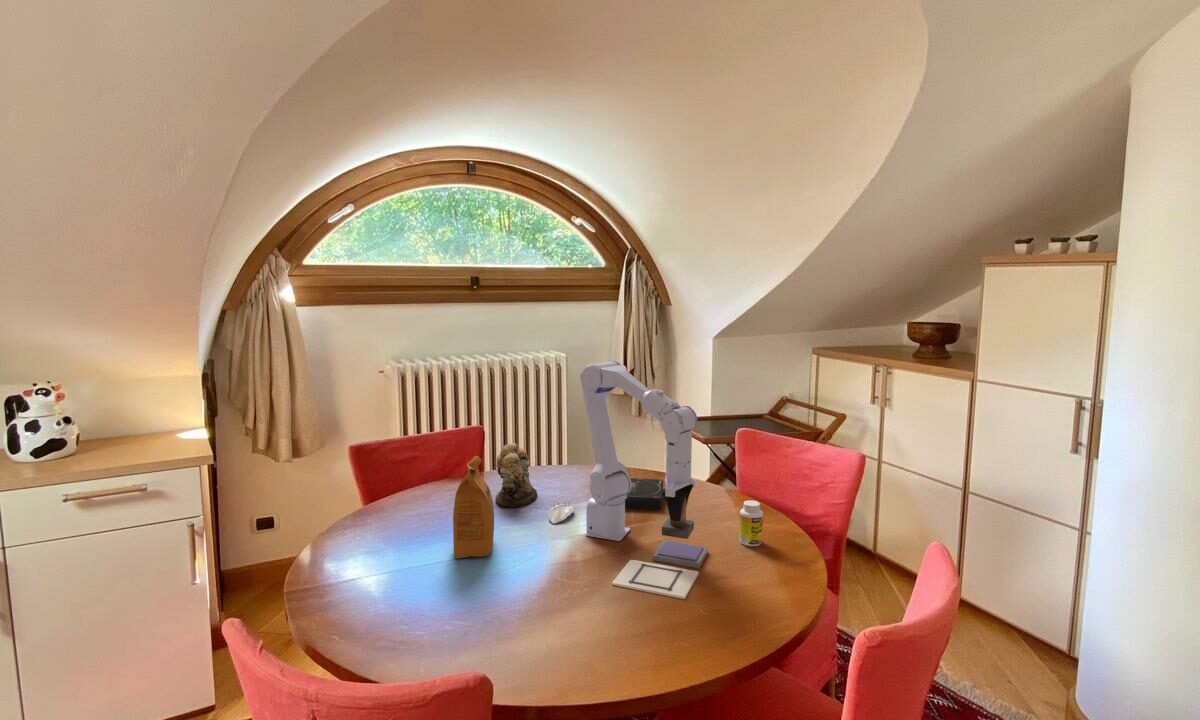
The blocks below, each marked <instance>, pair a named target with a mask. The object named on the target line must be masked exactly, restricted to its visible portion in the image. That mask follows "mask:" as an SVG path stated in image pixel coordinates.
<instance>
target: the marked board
mask: <svg viewBox="0 0 1200 720" xmlns="http://www.w3.org/2000/svg"><path fill="white" fill-rule="evenodd" d="M698 576H699V571H697V570H691V569H686V568H681V567H676V566H675V567H674V566H669V565H664V564H659V563H652V562H647V561H641V560H636V559H630V560H628V562H627V563H626V564H625V566H624V567H623V568H622V569H621V570H620V572H619V573H618V575H617V576H615V578H614V579H613V581H612V582H611V585H612V586H615V587H616V586H617V587H621V588H627V589H632V590H637V591H642V592H646V593H651V594H656V595H661V596H666V597H670V598H676V599H681V600H686V597H687V596H688V594H689V593H690V590H691V588H692V587H693V585H694V584H695V581H696V579H697V578H698Z"/></svg>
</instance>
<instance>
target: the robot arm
mask: <svg viewBox="0 0 1200 720" xmlns="http://www.w3.org/2000/svg"><path fill="white" fill-rule="evenodd" d="M579 378H580V382H581V387H582V400H583V404H584V405H583V406H584V409H585V414H586V420H587V424H588V425H587V426H588V430H589V436H590V441H591V445H592V449H593V455H594V460H595V466H594V467H593V469H592V470H591V472H590V473H589V479H590V484H589V492H590V494H591V497H590V498H589V500H588V502H587V505H586V513H585V514H586V532H585V534H584V535H585V536H586V537H593V538H599V539H604V540H610V541H617V542H620V541H622V540H623V538H624V537H625V536H626V535H627V534H628V533H629V532H630V530H631V528H630V527H625V526H626V523H625V521H626V509H625V499H626V498H627V494H628V493H629V492H630V490H631V486H632V485H631V480H630V478H631V477H630V476H629V474H628V472H627V468H626V466H625V465H624V464H623V463H622V462H621V461H619V460H618V457H617V452H616V447H615V443H614V438H613V437H614V436H613V433H612V426H611V422H610V417H609V413H608V408H607V402H606V399H607V398H608V397H609V395H610V394H611V393H612V392H613V391H614V390H616V388H619V389H621V390H622V391H624V392H625V393H626V394H628V395H630V396H631V397H633V398H634V399H636V400H638V401H639V402H640V404H641V405H640V406H641V408H642V410H643V411H644V412H646V414H648V415H650V416H651V417H652V418H654V419H655V420H657V421H658V422H659V423H660V425H661V428H662V431H664V439H665V441H666V442H665V443H666V449H665V450H666V453H665V461H666V462H665V478H664V483H665V488H663V490H662V495H663V497H662V498H663V500H664V501H665V503H666V506H667V509H668V510H667V511H668V514H669V517H670V519H671V520H673V521H680V519H681V515H682V508H683V504H684V500H685V498H686V508H687V506H688V501H689V498H690V494H691V492H692V490H693V488H694V486H695V484H696V483H697V479H695V478H692V452H693V451H692V450H693V449H692V447H693V444H692V443H693V442H692V441H693V439H692V438H693V430H694V429H695V428H696V427H697V426H698V425H697V424H698V416H697V413H696V411H695V410H694V409H693V408H692V407H691V406H689V405H681V404H679V402H677V401H675V400H673V399H671V398H669V397H668V396H667V395H665V392H664V391H663V390H662V389H649V388H647V386H645V385H644V384H643V383H642V382H641V381H640V380H638V379H637V378H636V377H635V376H634V375H632V374H631V373H629V371H628V370H627V366H626V365H624V364H622V363H620V362H619V361H617V360H610V361H607V362H606V361H605V362H599V363H589V364H586V365H585V366H584V368H583V369H582V371H581V372H580V374H579Z"/></svg>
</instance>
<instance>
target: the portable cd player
mask: <svg viewBox="0 0 1200 720" xmlns="http://www.w3.org/2000/svg"><path fill="white" fill-rule="evenodd" d="M630 480H631V485H632V486H631V490H630V492H629V493H628V494H627V498H626V499H625V510H639V509H647V510H646V511H659V510H661V511H662V506H663V498H664V497H663V495H662V490H663V489H664V479H660V478H659V479H655V478H632V477H630Z"/></svg>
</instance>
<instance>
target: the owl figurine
mask: <svg viewBox="0 0 1200 720" xmlns="http://www.w3.org/2000/svg"><path fill="white" fill-rule="evenodd" d="M529 466H530V460H529V456H528V453H527V450H526V449H525V448H523V447H522V448H520V446H519V445H518V444H517V443H515V442H512V443H507V444H504V446H502V448H501V450H500V452H499V454H498V456H497V457H496V470H497V474H498V475H499V476H500V479H502V483H501V489H500V490H499V492H497V494H496V495H495V504H496V505H497V506H498V507H502V508H524V507H526V506H528V505H530V504H532V503H533V502H535V501H536V499H537V497H538V492H537V490H536V488H534V487H533V485H532V484H531V481H530V472H529Z"/></svg>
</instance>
